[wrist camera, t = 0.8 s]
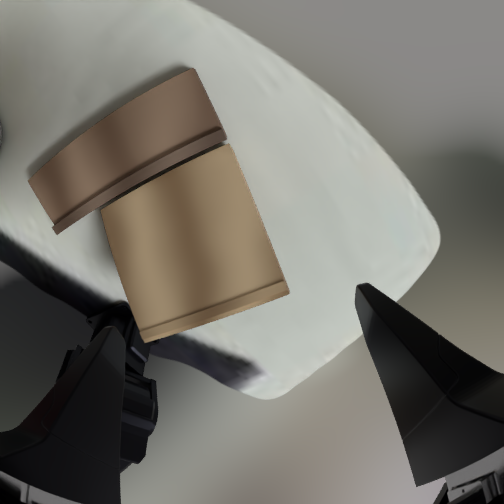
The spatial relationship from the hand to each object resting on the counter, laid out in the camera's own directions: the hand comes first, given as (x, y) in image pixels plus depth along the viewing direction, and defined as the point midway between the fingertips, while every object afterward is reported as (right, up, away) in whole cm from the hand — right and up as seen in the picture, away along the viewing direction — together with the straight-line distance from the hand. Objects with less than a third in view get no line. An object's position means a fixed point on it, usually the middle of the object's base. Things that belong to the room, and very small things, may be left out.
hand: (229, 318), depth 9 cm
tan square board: (-4, +3, +10) cm, 11 cm away
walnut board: (-9, +10, +9) cm, 16 cm away
